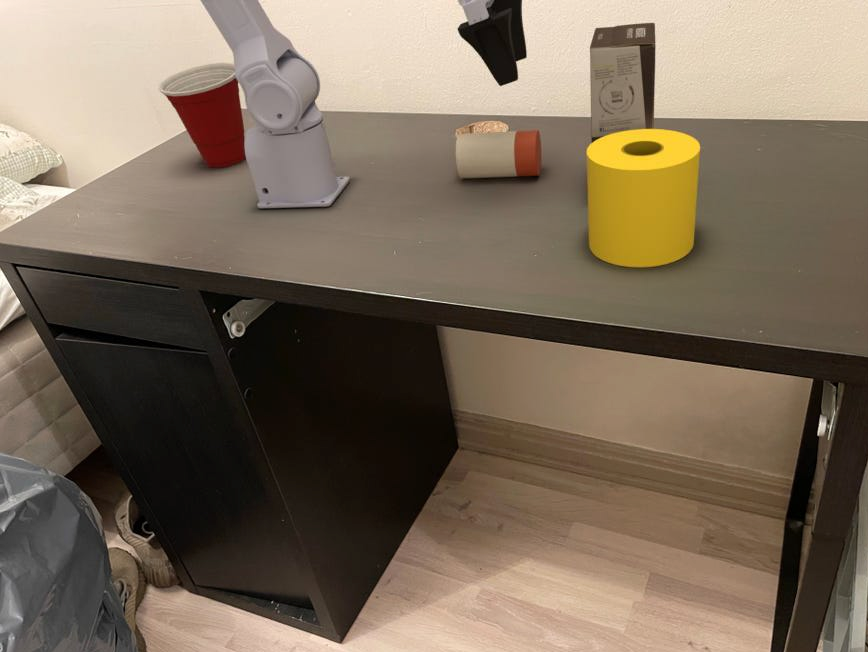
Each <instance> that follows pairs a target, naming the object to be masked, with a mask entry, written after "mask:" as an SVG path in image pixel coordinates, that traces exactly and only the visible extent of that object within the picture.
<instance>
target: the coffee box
mask: <svg viewBox="0 0 868 652" xmlns="http://www.w3.org/2000/svg"><path fill="white" fill-rule="evenodd" d="M589 45H590V46H589V62H590V63H589V65H590V66H589V67H590V69H589V74H590V75H589V77H590V81H589V82H590V122H591V123H590V128H591V129H590V131H591V132H590V134H591V136H590V137H591V139H590V140H591V144H592V143H593V142H594V141H596V140H597V139H599V138H602V137H604V136H607V135H610V134H613V133H617V132H622V131H628V130H637V129H655V128H654V127H655V94H656V93H655V91H656V90H655V86H656V24H655V22H643V23H631V24H630V23H629V24H622V25H615V26H603V27H596V28H595V29H594V32H593V36H592V39H591V42H590V44H589Z"/></svg>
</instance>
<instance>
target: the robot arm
mask: <svg viewBox="0 0 868 652" xmlns="http://www.w3.org/2000/svg"><path fill="white" fill-rule="evenodd" d="M200 2H201V4H202V5H203V7H204V8H205V10H206V12H207V13H208V15H209V16H210V18H211V20H212V21H213V23H214V25H215V26H216V28H217V30H218V31H219V33H220V34H221V36H222V37H223V39H224V40H225V42H226V44H227V46H228V47H229V49H230V50H231V52H232V57H233V64H234V69H235V77H236V79H237V81H238V85H240V88H241V89H242V92H243V96H244V102H245V106H246V107H245V108H246V110H247V112H248V114H249V116H250V117H251V119H252V120H253V121H254V122H255V124H256V125H251V127H249V128H248V130H247V131H246V133H245V135H244V137H245V143H244V145H245V155H246V158H245V160H246V162H247V166H248V169H249V172H250V176H251V179H252V182H253V186H254V190H255V193H256V195H257V199H258V203H256V206H257V208H258V209H282V208H287V209H288V208H319V207H330V206H331V205H332V204H333V203H334V202H335V200H336V199H337V197H338V196H339V195H340V194H341V193H342V191H343V190H344V189H345V187H346V186H347V185H348V183H349V182H350V181H351V179H350V176H337V173H336V167H335V164H334V160H333V155H332V150H331V146H330V142H329V139H328V134H327V129H326V126H325V121H324V118H323V113H322V111H321V110H320V108H319V107H318V106H317V103H316V101H317V99H318V97H319V95H320V91H321V79H320V76H319V74H318V71H317V69H316V68H315V66H314V65H313V64H312V63H311V62H310V61H309V60H308V59H306V58H305V57H303V55H301V53H299V52H298V51H297V50H296V48H295V46H294V45H293V43H292V41H291V39H289V38H288V37H287V36H286V35H285V34H283V33H281V31H279V30H277V28H275V27H274V25H273V24H272V22H271V20H270V18H269V16H268V15H267V13H266V11H265V9H264V8H263V7H262V4H261V2H260V1H259V0H200ZM457 2H458V4H459V6H461V7H462V9H463V12H464V15H465V18H466V20H467V21H464V22H462V23H460V24H459V25H458V27H457V32H458V34H459V36H460V37H461V39H463V40H464V41H465V42H466V43H467V44H469V45H470V47H471V48H473V50H474V51H475V52H476V53H477V54H478V56H479V57H480V58H481V60H482V61H483V63H484V64H485V67H486V68H487V69H488V71H489V73H490V74H491V76H492V77H493V79H494V81H495V82H496V83H497V84H498V86H499V87H502V86H505V85H508V84H511V83H514V82H517V81H518V80H519V71H518V64H517V63H518V62H520V61H523V60H525V59H527V57H528V55H527V53H528V52H527V43H526V42H527V41H526V37H525V30H524V23H523V22H524V21H523V0H457Z"/></svg>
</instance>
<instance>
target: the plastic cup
mask: <svg viewBox="0 0 868 652" xmlns="http://www.w3.org/2000/svg"><path fill="white" fill-rule="evenodd" d="M157 89H158V91H159V93H161V94H162V95H164V96H165V97H166V98H167V100H168V101H169V102H170V104H171V105H172V107H173V109H174V110H175V112H176V113H177V115H178V117H179V119H180V120H181V123H182V124H183V126H184V128H185V130H186V131H187V133H188V135H189V137H190V139H191V141H192V143H193V144H194V145H195V147H196V149H197V151H198V153H199V155H200V156H201V159H202V160H203V162H205V164H206V165H207V166H208V167H209V168H225V167H230V166H234V165H236V164H239V163H240V162H243V161H244V160H246V155H245V145H244V143H245V126H244V118H243V113H242V112H243V111H242V106H241V99H240V87H239V82H238V81H237V79H236V77H235V69H234V63H232V62H231V63H230V62H216V63H215V62H213V63H206V64H203V65H197V66H193V67H191V68H187V69H185V70H181V71H179V72H177V73H174V74H172V75H170V76H168V77H166V78H165V79H164V80H163V81H161V82H160V83H159V85H158V87H157Z"/></svg>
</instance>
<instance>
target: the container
mask: <svg viewBox="0 0 868 652" xmlns="http://www.w3.org/2000/svg"><path fill="white" fill-rule="evenodd" d="M541 141H542V140H541V135H540V131H539V129H533V130H512V131H511V130H509V131H492V132H473V133H472V132H471V133H469V132H468V133H459V134H458V135H457V137H456V141H455V163H456V170H457V174H458V177H459V178H460V179H483V178H486V179H487V178H510V177H511V178H512V177H539V176H540V175H541V170H542V142H541Z"/></svg>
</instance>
